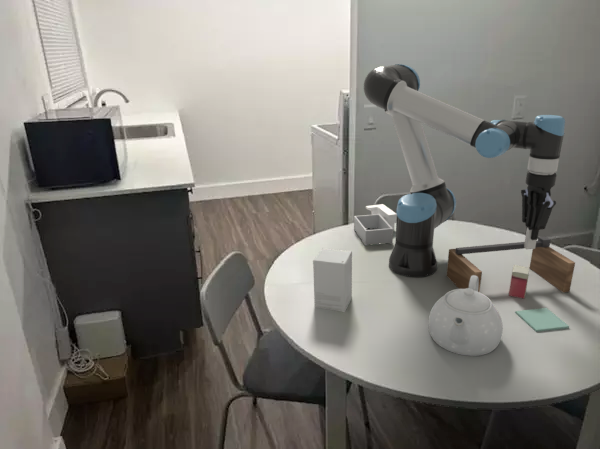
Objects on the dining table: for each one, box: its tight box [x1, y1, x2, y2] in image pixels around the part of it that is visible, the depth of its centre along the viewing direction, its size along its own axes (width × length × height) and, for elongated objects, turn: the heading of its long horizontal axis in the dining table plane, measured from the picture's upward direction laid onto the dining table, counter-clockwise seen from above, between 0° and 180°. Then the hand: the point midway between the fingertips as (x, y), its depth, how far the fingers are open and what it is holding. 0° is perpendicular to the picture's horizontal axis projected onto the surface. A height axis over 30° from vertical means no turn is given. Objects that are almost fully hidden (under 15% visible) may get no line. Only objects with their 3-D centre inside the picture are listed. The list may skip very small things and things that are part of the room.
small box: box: [508, 264, 530, 299], centre depth 133 cm, size 5×4×8 cm
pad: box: [514, 307, 570, 332], centre depth 121 cm, size 9×9×1 cm
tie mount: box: [446, 246, 576, 293], centre depth 138 cm, size 30×16×9 cm, turn 99°
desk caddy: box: [353, 214, 394, 246], centre depth 176 cm, size 10×16×6 cm, turn 9°
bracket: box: [365, 203, 397, 231], centre depth 186 cm, size 13×7×8 cm
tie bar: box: [455, 236, 551, 255], centre depth 140 cm, size 29×2×2 cm, turn 99°
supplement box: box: [312, 247, 353, 313], centre depth 130 cm, size 9×9×15 cm
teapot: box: [427, 275, 504, 357], centre depth 113 cm, size 19×18×14 cm
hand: (529, 248), depth 140 cm, fingers closed
